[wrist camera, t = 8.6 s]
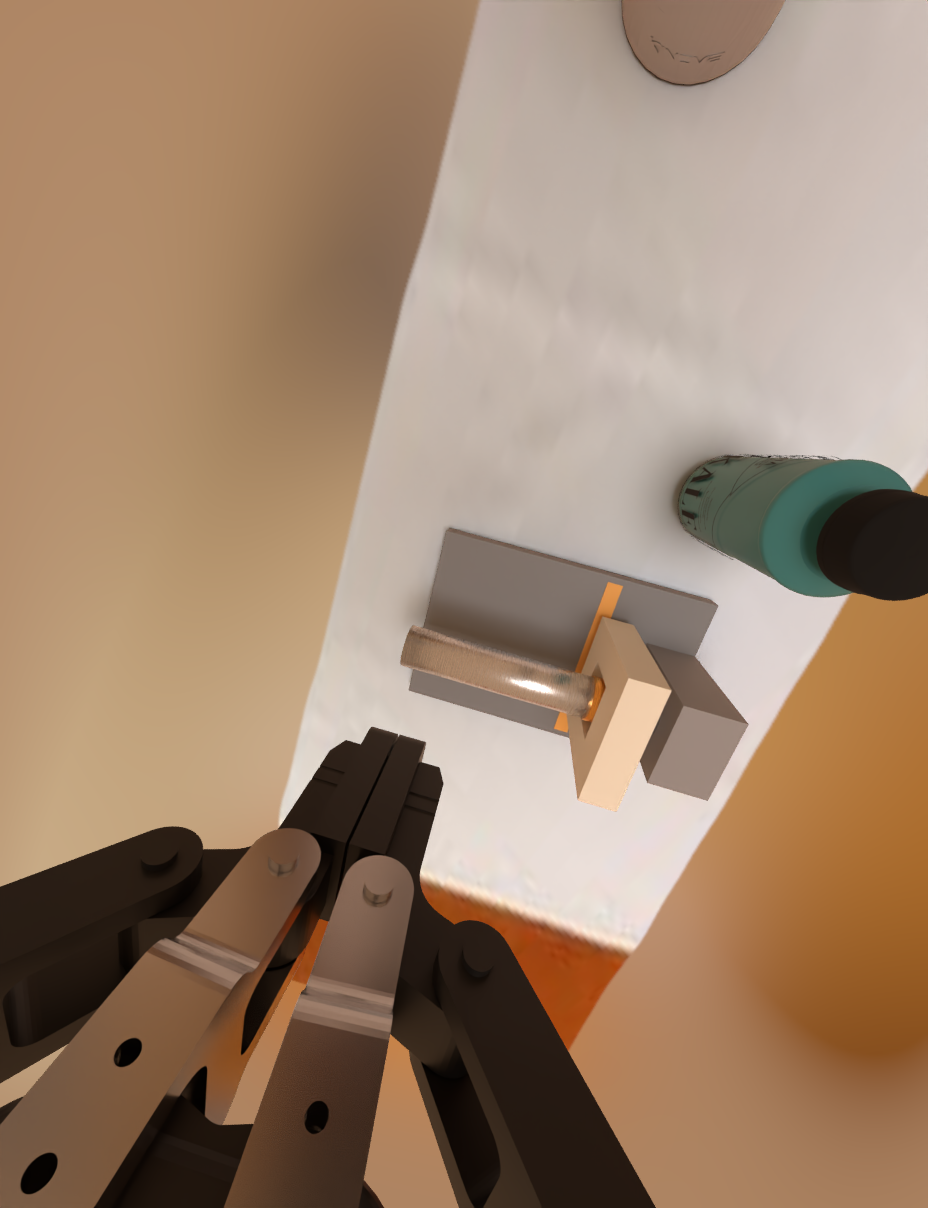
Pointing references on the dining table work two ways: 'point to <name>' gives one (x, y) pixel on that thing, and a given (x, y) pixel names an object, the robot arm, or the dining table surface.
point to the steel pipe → (503, 673)
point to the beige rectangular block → (616, 714)
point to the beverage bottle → (813, 523)
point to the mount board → (583, 647)
